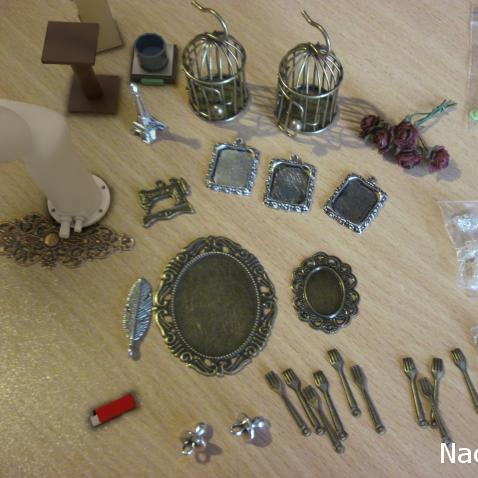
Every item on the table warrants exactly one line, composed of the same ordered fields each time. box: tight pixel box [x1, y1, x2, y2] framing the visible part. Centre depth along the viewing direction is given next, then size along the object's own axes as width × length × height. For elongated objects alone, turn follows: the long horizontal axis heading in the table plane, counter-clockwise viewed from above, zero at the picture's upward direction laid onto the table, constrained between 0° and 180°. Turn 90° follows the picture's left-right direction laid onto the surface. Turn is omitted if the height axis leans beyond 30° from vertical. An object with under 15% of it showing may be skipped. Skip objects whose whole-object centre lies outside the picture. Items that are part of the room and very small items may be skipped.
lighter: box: [89, 392, 137, 427], centre depth 103 cm, size 3×1×8 cm
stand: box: [40, 20, 120, 115], centre depth 119 cm, size 10×10×18 cm
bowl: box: [133, 32, 168, 70], centre depth 128 cm, size 7×7×5 cm
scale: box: [129, 43, 178, 86], centre depth 131 cm, size 11×10×3 cm
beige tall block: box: [69, 0, 123, 53], centre depth 124 cm, size 8×7×21 cm
